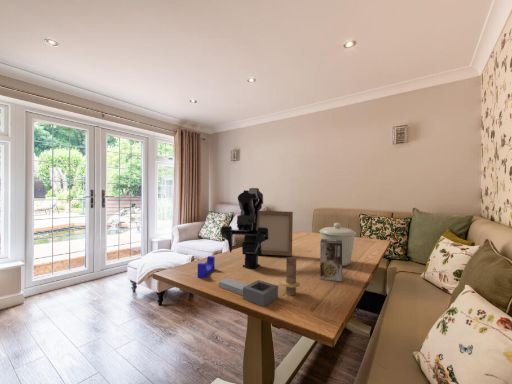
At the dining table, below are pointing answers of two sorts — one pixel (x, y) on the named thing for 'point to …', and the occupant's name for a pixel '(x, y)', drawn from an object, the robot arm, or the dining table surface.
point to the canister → (340, 234)
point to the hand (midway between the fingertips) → (242, 252)
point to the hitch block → (252, 290)
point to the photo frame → (277, 232)
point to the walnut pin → (291, 276)
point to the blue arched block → (206, 267)
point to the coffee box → (331, 259)
